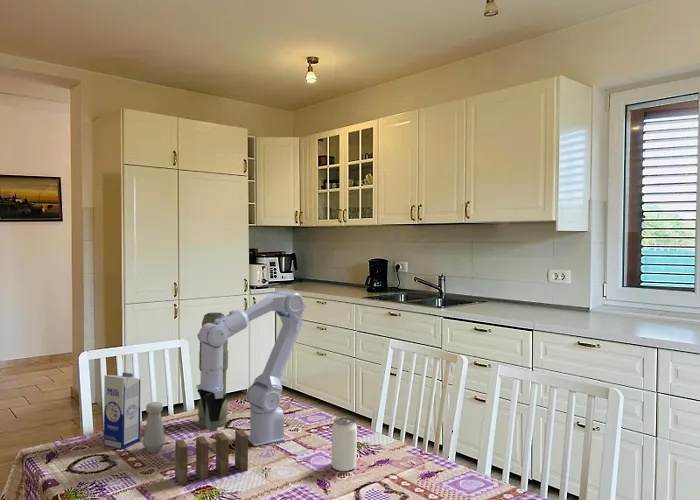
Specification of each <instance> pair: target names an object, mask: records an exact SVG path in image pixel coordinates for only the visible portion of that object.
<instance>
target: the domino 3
mask: <svg viewBox="0 0 700 500" xmlns="http://www.w3.org/2000/svg"><path fill="white" fill-rule="evenodd" d="M206 395H211V393H208V394H206ZM205 429H207V430H208V432H210V433H213V432H218V428H217V421H213V422H210V419H209V413H208V406H207V403H206V428H205Z"/></svg>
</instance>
